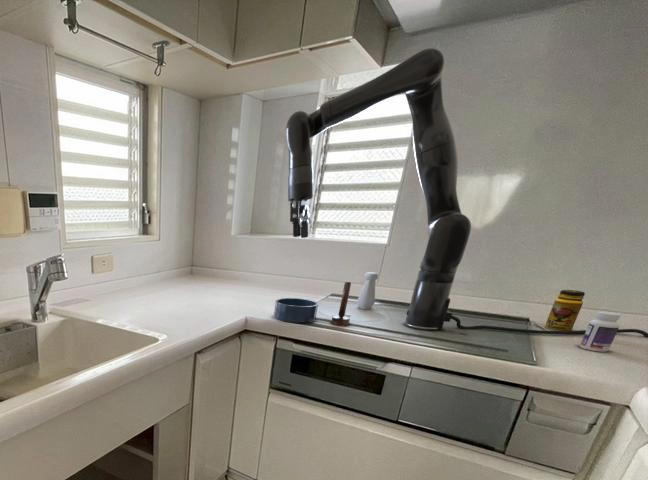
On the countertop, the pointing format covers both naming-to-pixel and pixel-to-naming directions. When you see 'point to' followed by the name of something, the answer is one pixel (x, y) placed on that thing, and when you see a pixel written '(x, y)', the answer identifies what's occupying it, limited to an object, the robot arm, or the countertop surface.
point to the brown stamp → (343, 307)
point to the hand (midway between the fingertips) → (300, 237)
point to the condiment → (564, 311)
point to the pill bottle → (601, 332)
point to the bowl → (295, 310)
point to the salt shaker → (368, 291)
